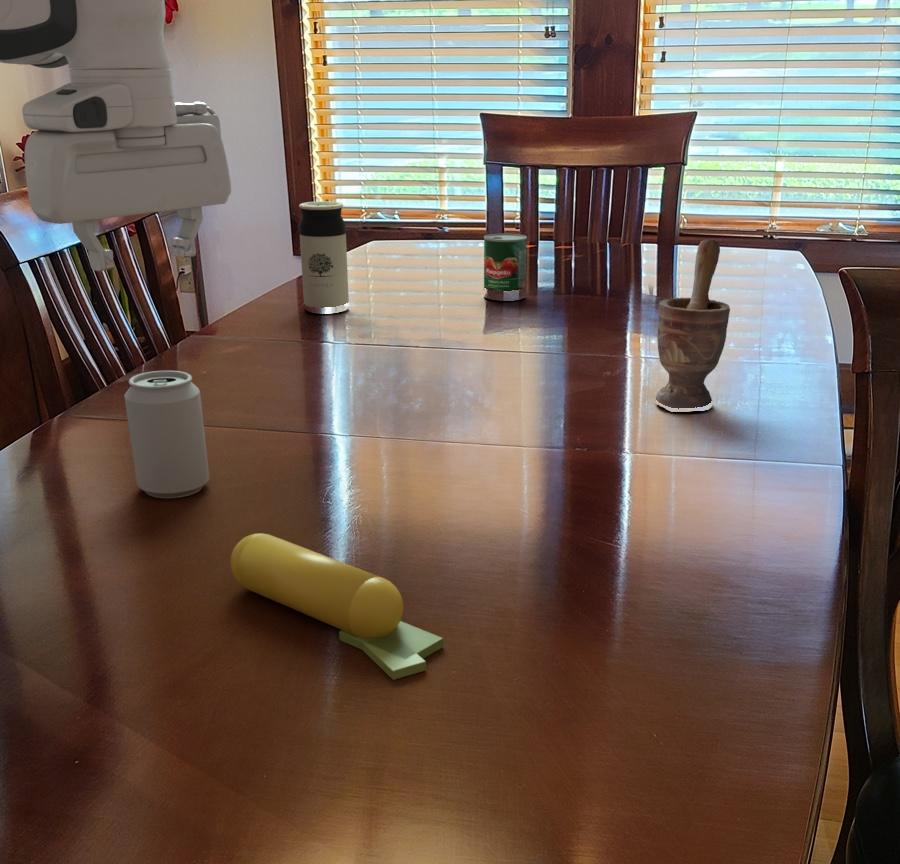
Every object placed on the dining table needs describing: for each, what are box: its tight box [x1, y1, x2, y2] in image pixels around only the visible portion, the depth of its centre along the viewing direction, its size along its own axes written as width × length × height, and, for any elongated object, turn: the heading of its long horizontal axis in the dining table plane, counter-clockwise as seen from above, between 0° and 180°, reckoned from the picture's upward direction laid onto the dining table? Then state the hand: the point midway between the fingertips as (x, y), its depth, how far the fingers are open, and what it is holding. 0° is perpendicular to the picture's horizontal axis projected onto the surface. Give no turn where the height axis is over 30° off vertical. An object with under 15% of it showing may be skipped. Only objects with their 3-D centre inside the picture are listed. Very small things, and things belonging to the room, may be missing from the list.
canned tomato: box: [483, 233, 528, 291], centre depth 199 cm, size 8×8×11 cm
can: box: [123, 370, 210, 499], centre depth 111 cm, size 8×8×12 cm
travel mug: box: [298, 201, 350, 308], centre depth 188 cm, size 8×8×18 cm
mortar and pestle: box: [655, 238, 731, 409], centre depth 137 cm, size 12×9×20 cm
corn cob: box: [230, 532, 444, 681], centre depth 86 cm, size 22×6×5 cm, turn 50°
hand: (145, 263), depth 103 cm, fingers open, 8 cm apart
